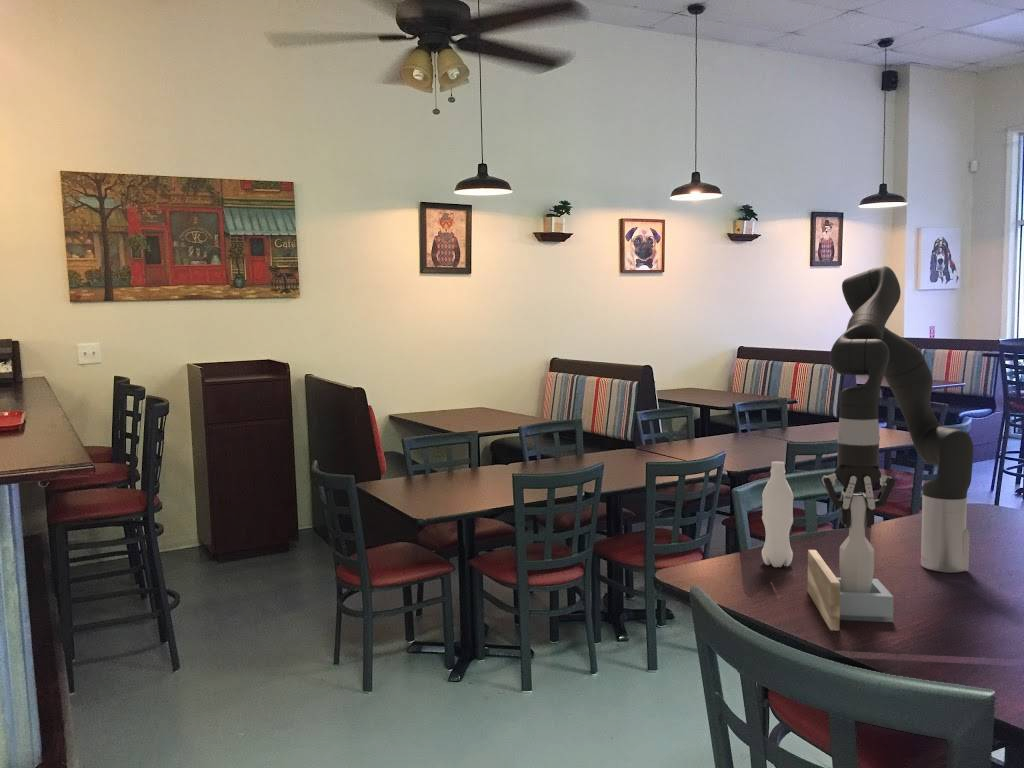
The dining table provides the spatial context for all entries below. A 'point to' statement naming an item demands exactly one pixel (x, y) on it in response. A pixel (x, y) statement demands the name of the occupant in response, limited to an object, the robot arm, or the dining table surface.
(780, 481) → the water bottle
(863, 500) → the low poly bottle
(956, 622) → the dining table surface
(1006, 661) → the dining table surface
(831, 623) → the tan wooden board
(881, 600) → the holder
